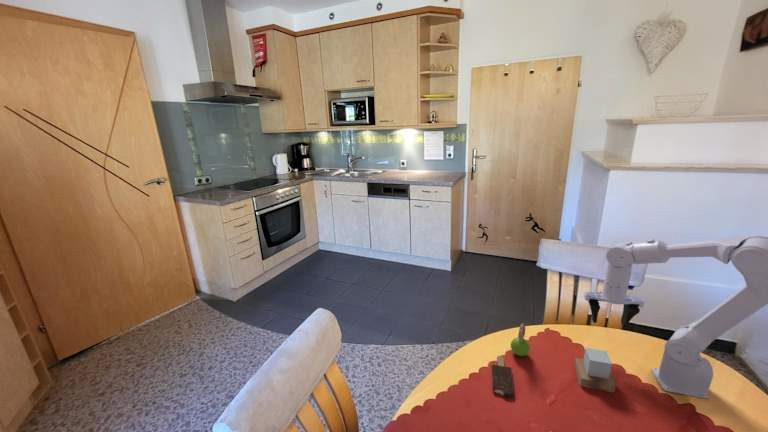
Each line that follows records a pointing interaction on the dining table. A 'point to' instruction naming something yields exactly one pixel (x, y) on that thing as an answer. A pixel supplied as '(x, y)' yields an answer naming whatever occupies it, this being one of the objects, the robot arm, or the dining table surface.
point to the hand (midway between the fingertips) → (608, 322)
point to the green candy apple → (520, 343)
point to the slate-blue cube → (597, 363)
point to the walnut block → (593, 378)
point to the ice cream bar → (502, 379)
